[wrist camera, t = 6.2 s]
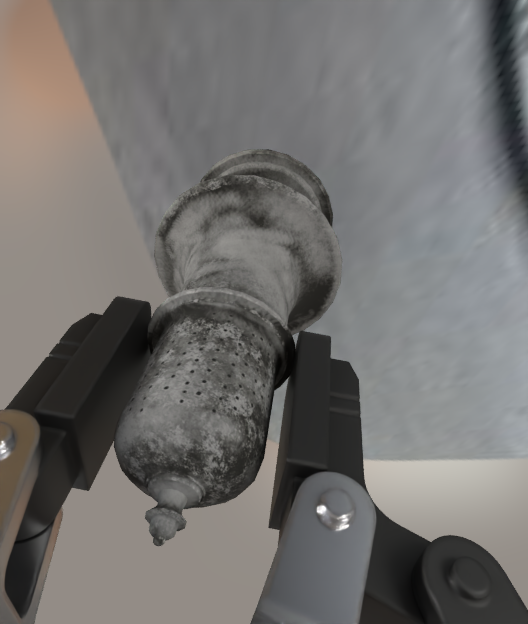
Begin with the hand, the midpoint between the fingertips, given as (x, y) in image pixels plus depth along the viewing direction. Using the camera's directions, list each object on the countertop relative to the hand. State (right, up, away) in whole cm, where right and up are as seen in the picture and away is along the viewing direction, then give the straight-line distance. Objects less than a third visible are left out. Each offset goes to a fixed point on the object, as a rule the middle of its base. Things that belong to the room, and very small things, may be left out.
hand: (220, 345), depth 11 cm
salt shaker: (+1, +4, +6) cm, 7 cm away
